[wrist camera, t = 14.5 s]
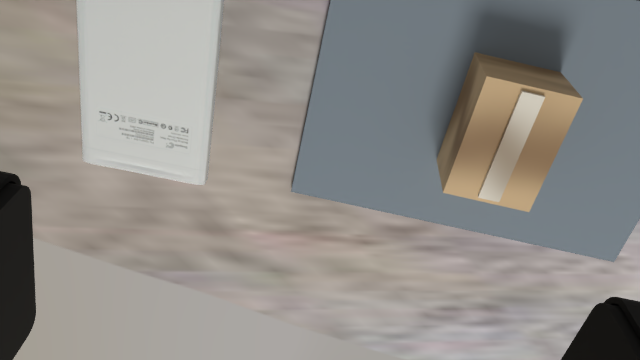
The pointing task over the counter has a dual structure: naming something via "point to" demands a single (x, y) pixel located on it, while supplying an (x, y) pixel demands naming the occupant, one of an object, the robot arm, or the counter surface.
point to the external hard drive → (149, 84)
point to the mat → (441, 98)
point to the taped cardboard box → (505, 131)
